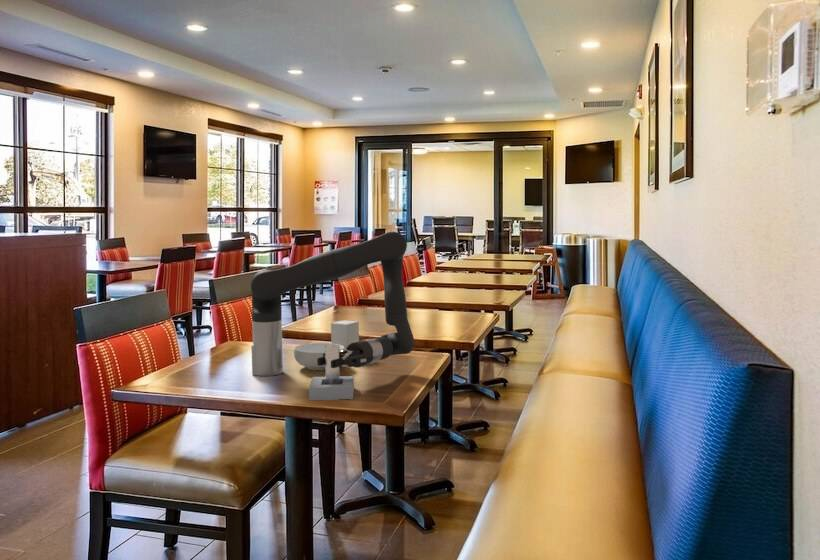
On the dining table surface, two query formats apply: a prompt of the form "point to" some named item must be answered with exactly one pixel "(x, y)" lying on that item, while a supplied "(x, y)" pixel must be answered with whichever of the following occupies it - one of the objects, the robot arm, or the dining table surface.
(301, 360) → the cereal bowl
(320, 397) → the block
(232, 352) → the dining table surface
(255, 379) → the dining table surface
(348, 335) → the supplement box
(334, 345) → the pin gauge
